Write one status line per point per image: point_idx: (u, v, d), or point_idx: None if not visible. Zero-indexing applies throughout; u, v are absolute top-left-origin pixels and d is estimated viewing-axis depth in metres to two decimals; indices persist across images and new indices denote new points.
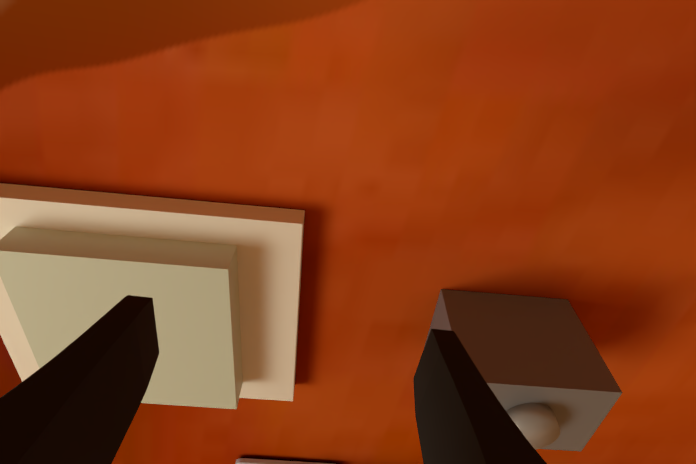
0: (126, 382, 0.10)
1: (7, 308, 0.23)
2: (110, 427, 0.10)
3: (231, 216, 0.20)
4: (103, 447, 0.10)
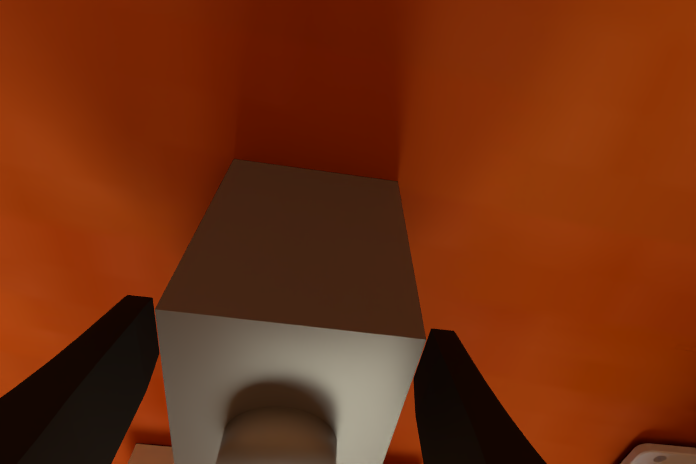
0: (126, 382, 0.10)
1: None
2: (110, 427, 0.10)
3: None
4: (103, 447, 0.10)
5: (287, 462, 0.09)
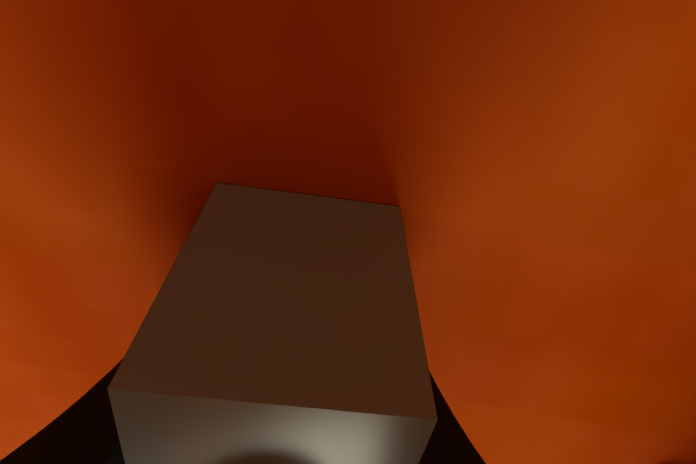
0: None
1: None
2: None
3: None
4: None
5: None
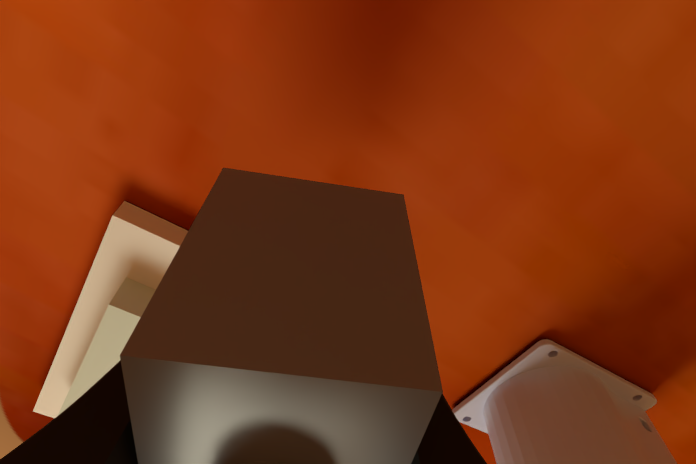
0: None
1: None
2: None
3: None
4: None
5: None
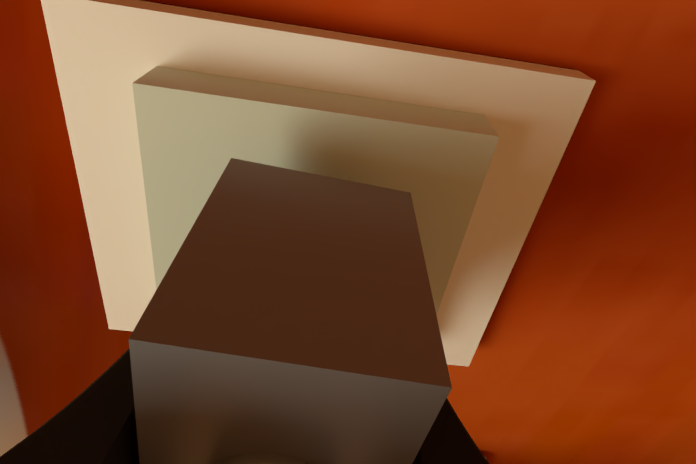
0: None
1: (113, 209, 0.16)
2: None
3: (491, 63, 0.13)
4: None
5: None
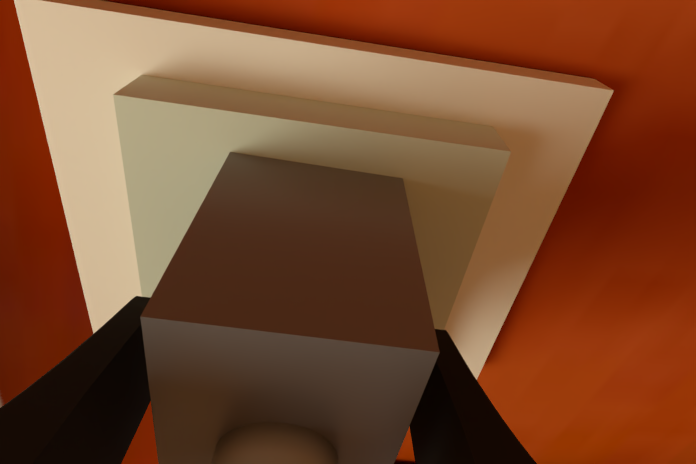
0: (135, 383, 0.10)
1: (98, 225, 0.15)
2: (120, 428, 0.10)
3: (502, 72, 0.12)
4: (113, 448, 0.10)
5: None
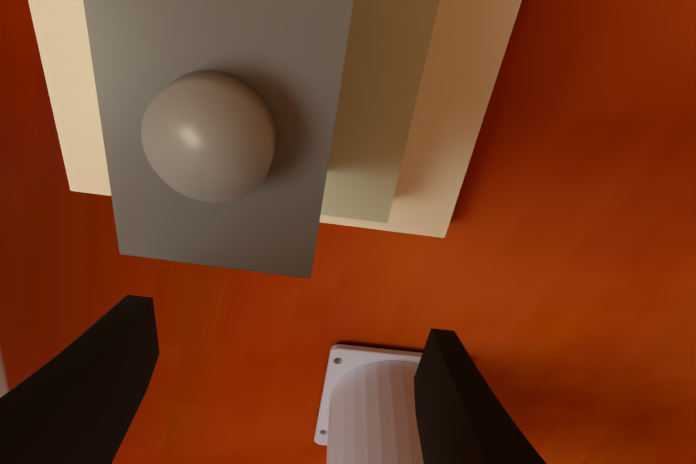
0: (126, 382, 0.10)
1: (66, 36, 0.15)
2: (110, 427, 0.10)
3: None
4: (103, 447, 0.10)
5: (217, 113, 0.08)
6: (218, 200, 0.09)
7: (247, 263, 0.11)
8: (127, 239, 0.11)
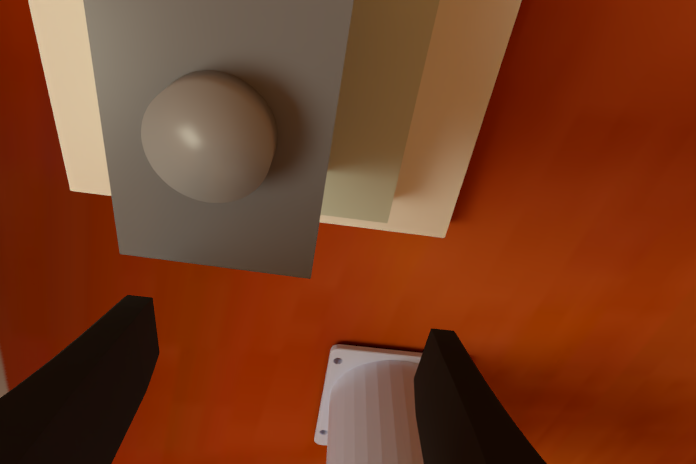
0: (126, 382, 0.10)
1: (66, 36, 0.15)
2: (110, 427, 0.10)
3: None
4: (103, 447, 0.10)
5: (217, 113, 0.08)
6: (218, 200, 0.09)
7: (247, 263, 0.11)
8: (127, 239, 0.11)
